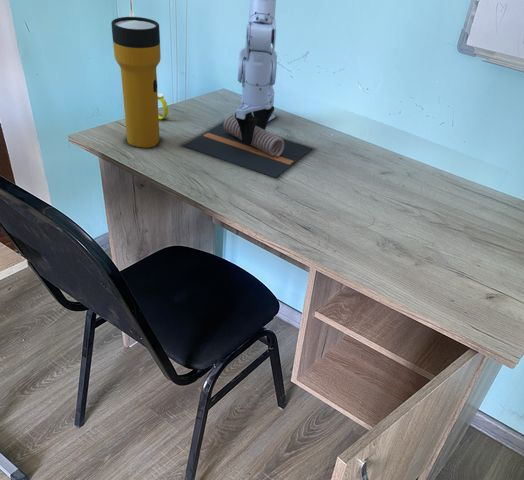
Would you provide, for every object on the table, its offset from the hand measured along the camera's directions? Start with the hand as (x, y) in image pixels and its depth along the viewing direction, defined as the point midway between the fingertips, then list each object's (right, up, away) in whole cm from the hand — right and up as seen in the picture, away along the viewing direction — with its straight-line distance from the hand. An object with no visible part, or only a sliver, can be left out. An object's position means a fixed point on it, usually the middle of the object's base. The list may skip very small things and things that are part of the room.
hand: (252, 139), depth 134 cm
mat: (-1, -2, 0) cm, 2 cm away
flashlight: (-27, -2, -2) cm, 27 cm away
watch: (-25, +9, +8) cm, 28 cm away
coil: (0, -1, +1) cm, 2 cm away
